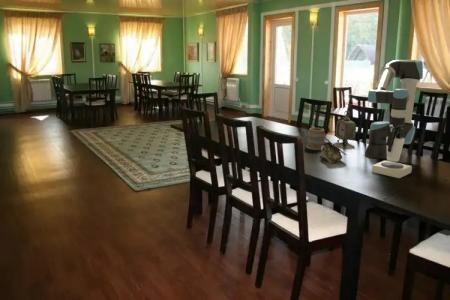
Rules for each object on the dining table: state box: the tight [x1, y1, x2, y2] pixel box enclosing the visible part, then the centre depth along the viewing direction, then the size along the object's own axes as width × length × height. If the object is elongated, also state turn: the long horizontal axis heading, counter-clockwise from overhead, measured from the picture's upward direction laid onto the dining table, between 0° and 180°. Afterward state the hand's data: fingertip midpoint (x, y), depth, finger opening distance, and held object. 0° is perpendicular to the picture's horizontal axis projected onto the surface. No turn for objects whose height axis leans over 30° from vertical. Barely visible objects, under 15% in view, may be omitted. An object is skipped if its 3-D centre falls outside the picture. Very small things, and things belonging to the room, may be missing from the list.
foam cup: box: [386, 137, 405, 163], centre depth 223 cm, size 10×9×13 cm
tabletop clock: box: [335, 110, 357, 146], centre depth 297 cm, size 14×9×25 cm, turn 14°
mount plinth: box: [371, 160, 413, 179], centre depth 225 cm, size 16×16×4 cm
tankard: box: [305, 124, 326, 151], centre depth 285 cm, size 20×13×15 cm, turn 179°
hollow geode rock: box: [320, 137, 348, 164], centre depth 253 cm, size 28×13×15 cm
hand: (393, 155), depth 224 cm, fingers closed on foam cup, 9 cm apart
